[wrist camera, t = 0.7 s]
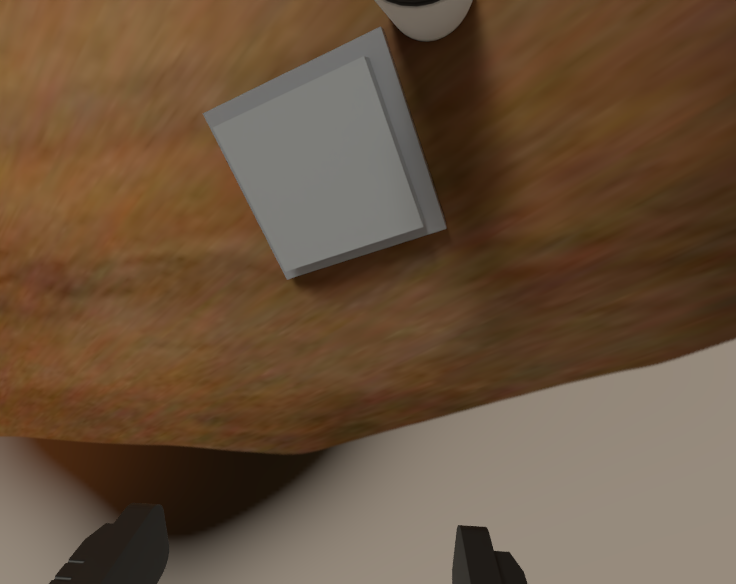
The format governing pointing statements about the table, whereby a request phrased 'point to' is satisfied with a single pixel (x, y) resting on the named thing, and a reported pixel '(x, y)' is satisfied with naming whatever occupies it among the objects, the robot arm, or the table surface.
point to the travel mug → (425, 16)
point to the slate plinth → (330, 158)
